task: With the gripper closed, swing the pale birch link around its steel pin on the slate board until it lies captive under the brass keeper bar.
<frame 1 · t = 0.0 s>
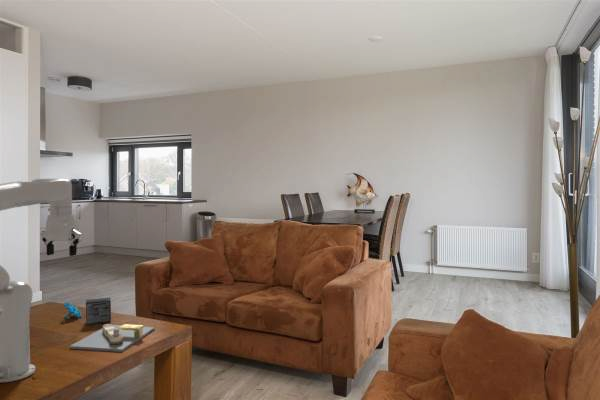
hand: (61, 255, 166), 37 cm above the table, tool pointing down, fingers open, 9 cm apart
link: (111, 330, 177), point 4 cm above the table, hinge at 45.0°
blue irregular piece: (73, 317, 207), on the table
board: (116, 345, 171), on the table
keeper: (131, 331, 178), on the board, point 3 cm above the table
small box: (98, 322, 200), on the table
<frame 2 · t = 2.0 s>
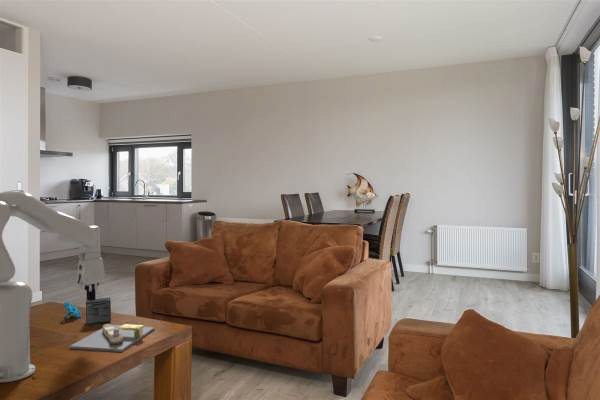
hand: (91, 299, 176), 17 cm above the table, tool pointing down, fingers closed
nothing on the table moved.
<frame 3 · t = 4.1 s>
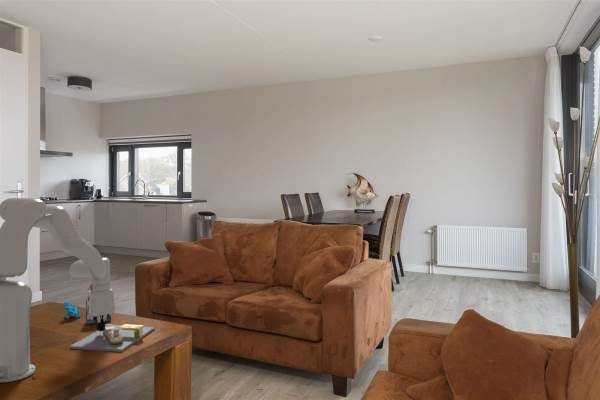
hand: (100, 330, 180), 3 cm above the table, tool pointing down, fingers closed
link: (112, 330, 177), point 4 cm above the table, hinge at 43.7°, touching gripper
everything else where it was.
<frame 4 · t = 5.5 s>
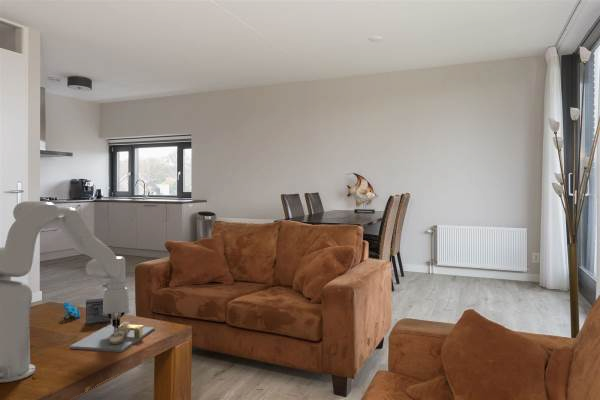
hand: (116, 327, 184), 3 cm above the table, tool pointing down, fingers closed
link: (121, 329, 178), point 4 cm above the table, hinge at 18.1°, touching gripper
everything else where it was.
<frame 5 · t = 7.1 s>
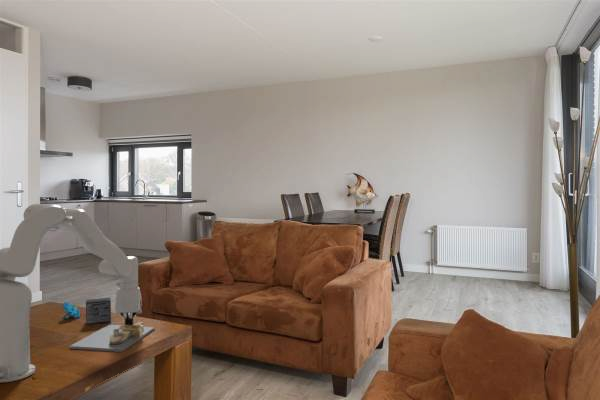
hand: (129, 327, 185), 3 cm above the table, tool pointing down, fingers closed
link: (127, 329, 178), point 4 cm above the table, hinge at -3.4°, touching gripper
everything else where it was.
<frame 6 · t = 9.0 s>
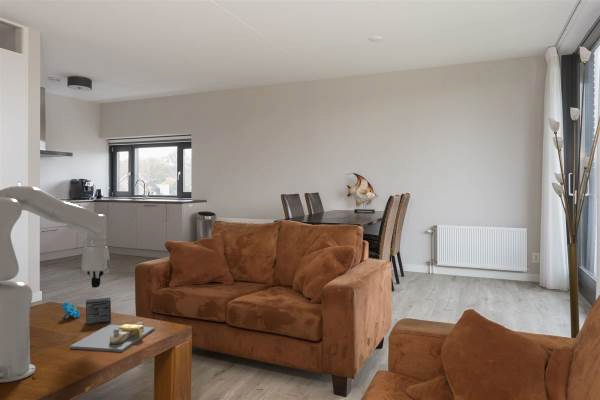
hand: (95, 286, 180), 21 cm above the table, tool pointing down, fingers closed
link: (127, 329, 178), point 4 cm above the table, hinge at -3.4°
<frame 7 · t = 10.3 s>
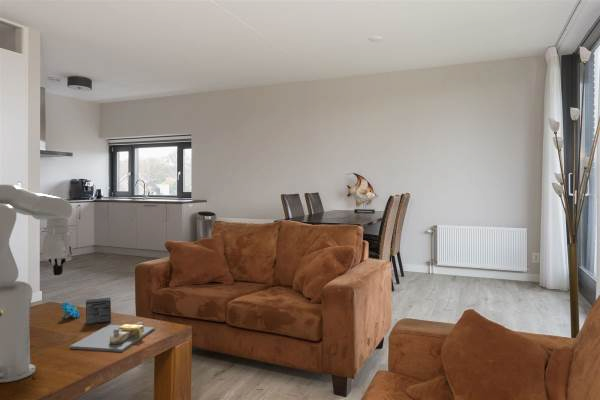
hand: (58, 274, 176), 27 cm above the table, tool pointing down, fingers closed
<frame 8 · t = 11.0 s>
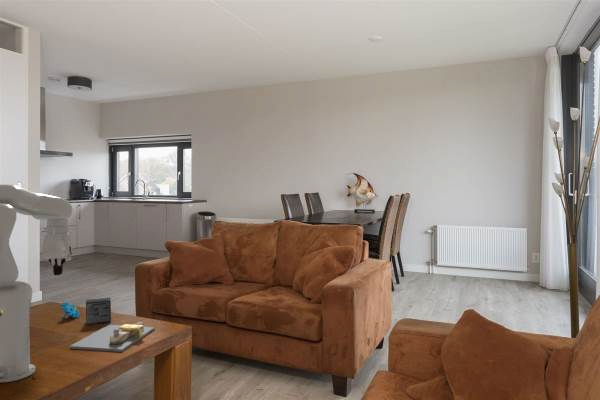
hand: (58, 274, 176), 27 cm above the table, tool pointing down, fingers closed
at the end: link at -3° (first picture: +45°) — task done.
